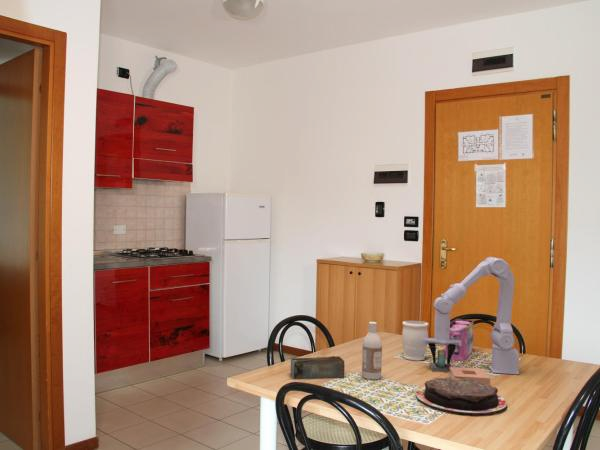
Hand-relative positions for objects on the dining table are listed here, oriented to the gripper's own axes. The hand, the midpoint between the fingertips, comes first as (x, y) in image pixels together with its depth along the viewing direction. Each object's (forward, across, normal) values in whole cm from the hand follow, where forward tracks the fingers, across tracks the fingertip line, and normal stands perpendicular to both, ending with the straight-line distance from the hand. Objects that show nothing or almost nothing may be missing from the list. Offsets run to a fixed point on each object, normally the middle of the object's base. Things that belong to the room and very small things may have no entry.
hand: (441, 363), depth 202 cm
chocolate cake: (+3, +1, -36) cm, 36 cm away
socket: (+2, +8, -13) cm, 15 cm away
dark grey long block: (+3, -47, -19) cm, 50 cm away
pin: (+2, 0, 0) cm, 2 cm away
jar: (+2, -9, +14) cm, 17 cm away
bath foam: (+2, -27, -17) cm, 32 cm away
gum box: (+2, +11, +25) cm, 28 cm away
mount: (+2, 0, 0) cm, 2 cm away
